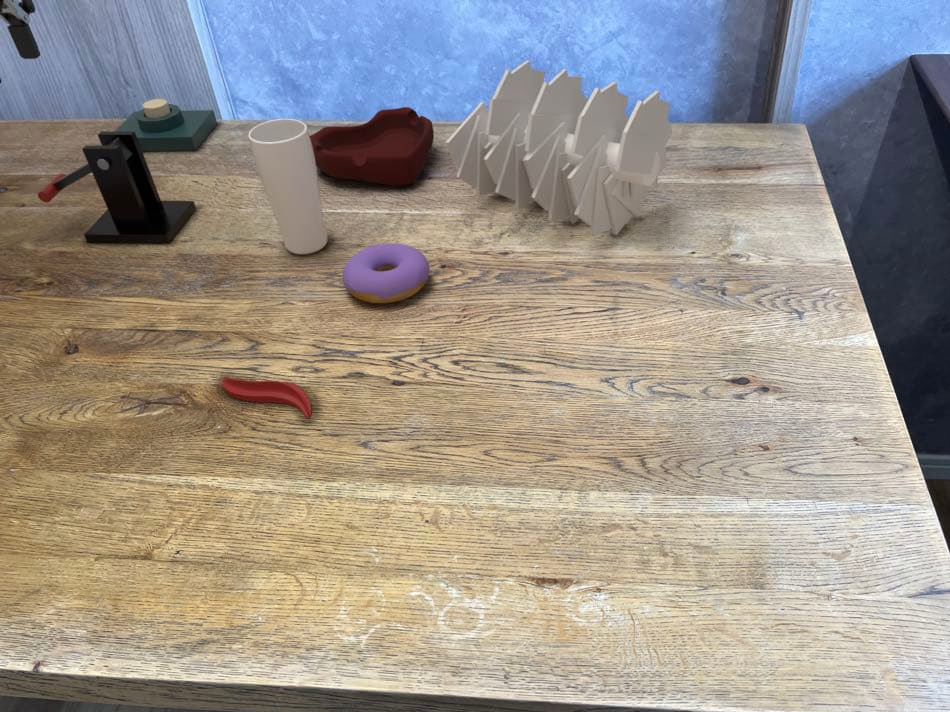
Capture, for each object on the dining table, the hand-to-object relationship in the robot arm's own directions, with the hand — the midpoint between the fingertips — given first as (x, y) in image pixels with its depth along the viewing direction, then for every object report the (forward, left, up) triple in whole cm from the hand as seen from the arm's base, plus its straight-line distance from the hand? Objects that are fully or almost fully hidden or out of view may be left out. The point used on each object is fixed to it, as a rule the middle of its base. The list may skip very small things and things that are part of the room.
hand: (12, 71), depth 96 cm
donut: (+46, +8, -20) cm, 51 cm away
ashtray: (+26, +31, -20) cm, 46 cm away
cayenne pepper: (+48, -13, -20) cm, 54 cm away
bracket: (+8, +3, -20) cm, 22 cm away
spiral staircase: (+55, +33, -20) cm, 68 cm away
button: (-12, +23, -16) cm, 31 cm away
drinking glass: (+31, +10, -20) cm, 38 cm away
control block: (-12, +23, -20) cm, 33 cm away
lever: (+4, +2, -13) cm, 14 cm away
